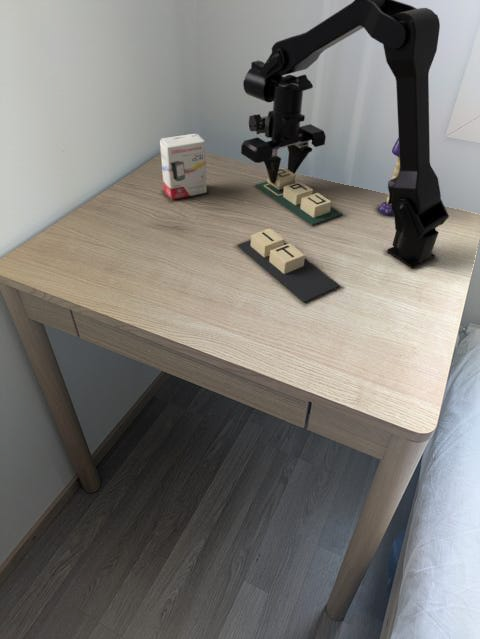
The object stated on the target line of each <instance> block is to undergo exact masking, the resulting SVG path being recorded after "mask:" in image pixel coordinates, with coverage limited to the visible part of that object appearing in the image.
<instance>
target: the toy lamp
mask: <svg viewBox="0 0 480 639" xmlns="http://www.w3.org/2000/svg"><path fill="white" fill-rule="evenodd" d="M391 153H392V154H393V155H394V156H396V159H397V161H396V162H395V165H394V166H395V168H394V170H393V175H392V176H391V180H392V179H394V178H396V177H397V176H398V173H399V171H400V156H399V136H398V137H397V138H396V140H395V143H394V145H393V147H392V149H391ZM388 201H389V191H388V192H387V198H386V201H383V202H381V203H380V204H379V206H378V208H377V211H378V212H379V213H380V214H381V215H384V216H389V217H391V216H393V217H394V214H393V211H392V207H391V204H388Z"/></svg>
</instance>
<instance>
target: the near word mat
mask: <svg viewBox="0 0 480 639" xmlns="http://www.w3.org/2000/svg"><path fill="white" fill-rule="evenodd" d="M237 247H238V248H239V249H240V250H241V251H243V252H244V253H245V254H246V255H247V256H249V257H250V258H251V259H252V260H253V261H254V262H255V263H257V264H258V265H259V266H260V267H261V268H262V269H264V270H265V271H266V272H267V273H268V274H270V276H272V277H273V278H274V279H275V280H276V281H278V282H279V283H280V284H281V286H283V287H284V288H286V289H287V290H288V291H289V292H290V293H291V294H293V295H294V297H296V298H297V299H298V300H299V301H301V302H302V303H303V304H307V303H308V302H310V301H312V300H314V299H315V300H316V299H317V298H319V297H321V296H323V295H325V294H328V293H330V292H333V291H335V290H337V289H339V288H340V287H341V285H340V284H339V283H338V282H336V281H335V280H333V279H332V278H331V277H329V276H328V275H327V274H326V273H324V271H322V270H321V269H319V268H318V267H317V266H315V265H314V264H313V263H312V262H310V261H309V260H308V259H306V254H305V253H304V252H302V251H301V250H299V249H298V248H297V247H296V246H294V245H293V244H292V243H286V242H285V238H284V237H282V236H281V235H280V234H279V233H277V232H276V231H275V230H273V228H267V229H264V230H261V231H258V232H255V233H253V234H252V233H251V234H250V240H247V241H244V242H241V243H239V244H237Z"/></svg>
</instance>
